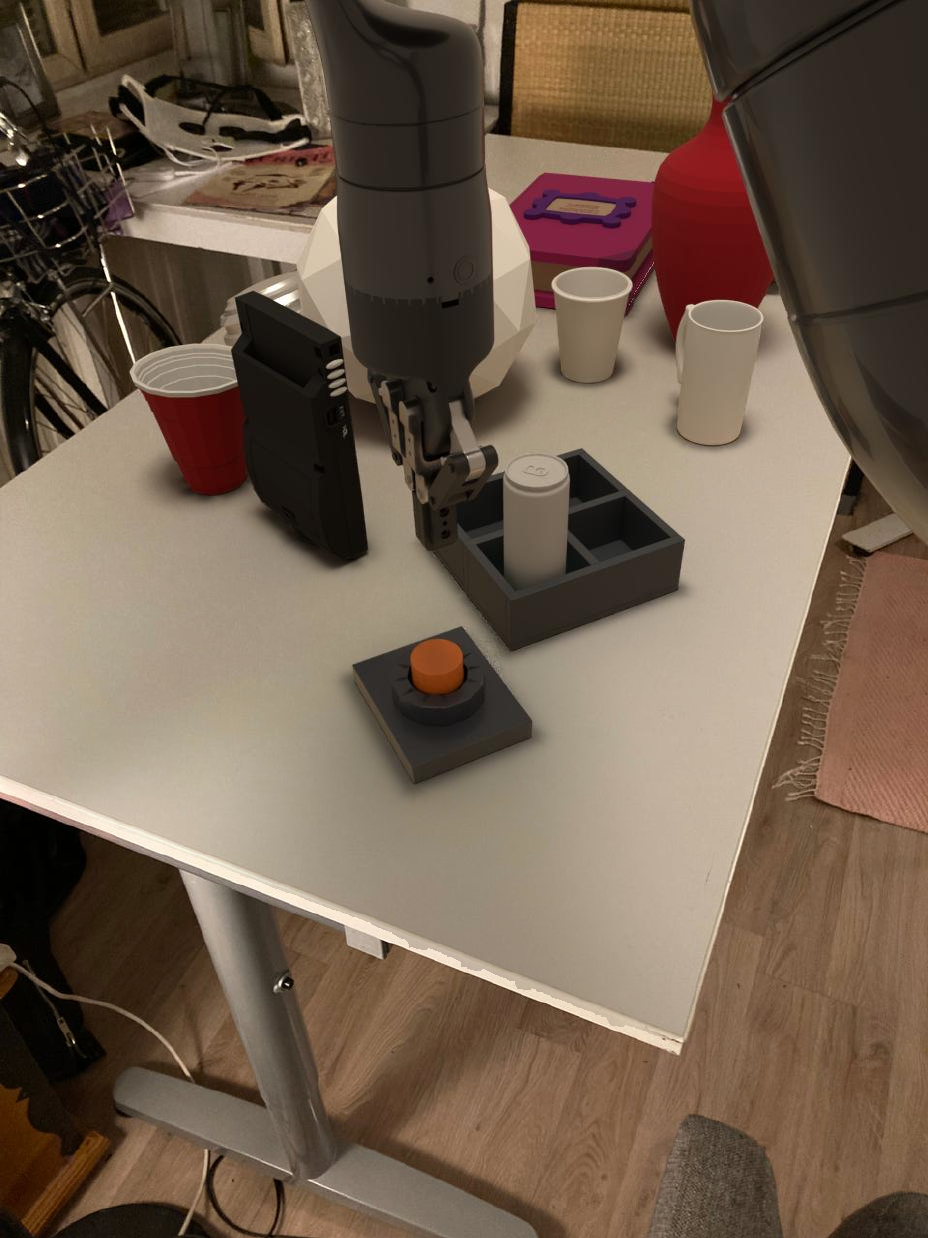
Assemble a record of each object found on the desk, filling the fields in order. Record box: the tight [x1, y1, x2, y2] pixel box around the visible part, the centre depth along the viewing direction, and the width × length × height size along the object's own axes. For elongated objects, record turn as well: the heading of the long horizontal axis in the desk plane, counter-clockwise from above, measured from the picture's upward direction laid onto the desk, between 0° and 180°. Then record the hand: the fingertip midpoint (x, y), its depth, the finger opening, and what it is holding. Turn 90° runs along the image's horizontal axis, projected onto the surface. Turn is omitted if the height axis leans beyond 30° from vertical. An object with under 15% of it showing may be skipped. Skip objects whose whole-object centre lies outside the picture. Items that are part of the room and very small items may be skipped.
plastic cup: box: [129, 343, 248, 496], centre depth 90 cm, size 11×11×12 cm
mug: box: [675, 300, 764, 446], centre depth 95 cm, size 10×7×12 cm, turn 24°
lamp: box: [219, 187, 538, 405], centre depth 99 cm, size 23×35×24 cm, turn 70°
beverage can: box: [503, 451, 570, 592], centre depth 74 cm, size 5×5×12 cm
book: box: [509, 172, 655, 318], centre depth 127 cm, size 21×28×8 cm
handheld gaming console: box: [231, 291, 369, 561], centre depth 80 cm, size 12×5×20 cm, turn 42°
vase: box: [651, 90, 774, 344], centre depth 102 cm, size 15×15×30 cm
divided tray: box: [432, 447, 686, 652], centre depth 80 cm, size 15×15×5 cm
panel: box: [351, 626, 533, 784], centre depth 69 cm, size 11×9×4 cm
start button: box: [410, 639, 464, 695], centre depth 67 cm, size 4×4×2 cm
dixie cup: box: [552, 267, 633, 384], centre depth 104 cm, size 8×8×10 cm
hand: (437, 541), depth 60 cm, fingers closed
